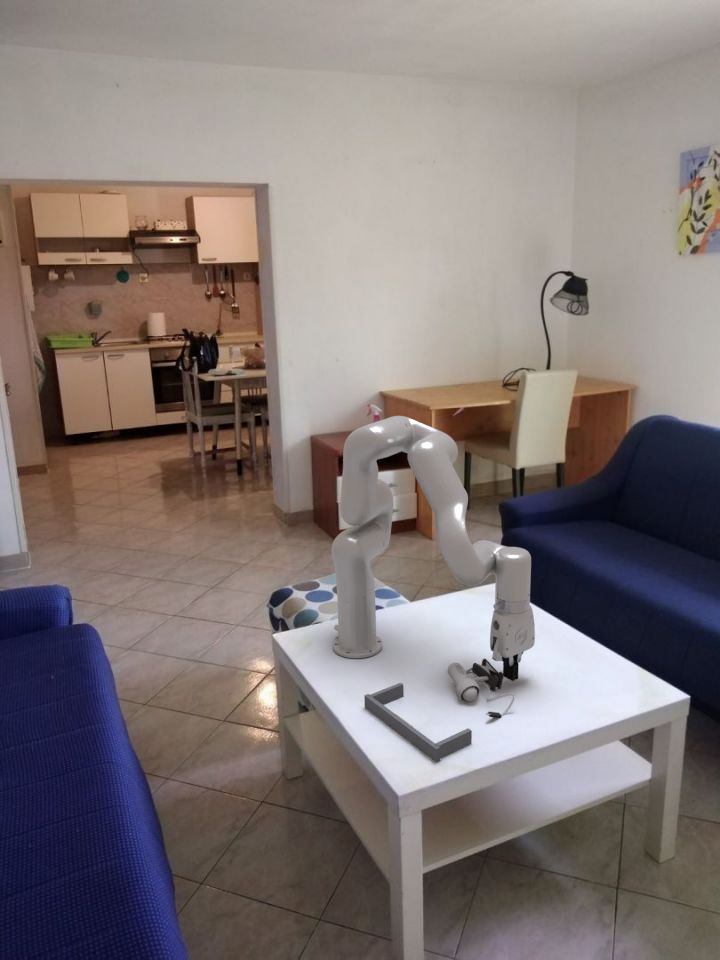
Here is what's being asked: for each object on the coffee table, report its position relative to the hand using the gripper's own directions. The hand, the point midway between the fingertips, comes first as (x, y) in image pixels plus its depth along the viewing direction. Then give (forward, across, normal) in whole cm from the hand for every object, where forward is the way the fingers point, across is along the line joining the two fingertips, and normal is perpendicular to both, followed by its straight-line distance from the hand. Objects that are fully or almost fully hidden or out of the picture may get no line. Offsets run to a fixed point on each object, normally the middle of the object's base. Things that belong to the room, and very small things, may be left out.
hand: (510, 677), depth 166 cm
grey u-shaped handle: (+2, -27, 0) cm, 27 cm away
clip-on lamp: (+2, -9, -1) cm, 9 cm away
